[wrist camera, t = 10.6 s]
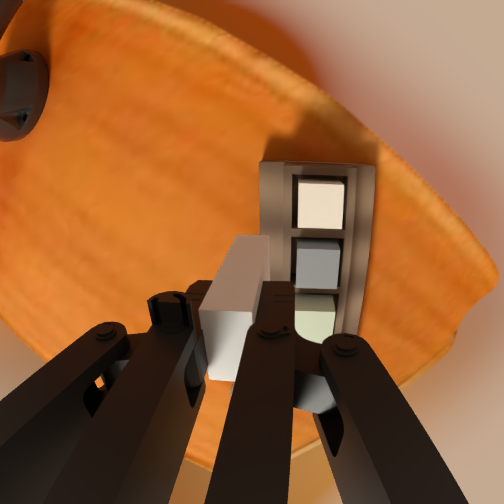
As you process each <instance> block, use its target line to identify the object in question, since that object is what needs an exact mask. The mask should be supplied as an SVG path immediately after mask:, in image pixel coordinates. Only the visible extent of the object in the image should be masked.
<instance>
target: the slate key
mask: <svg viewBox="0 0 504 504" xmlns="http://www.w3.org/2000/svg"><path fill="white" fill-rule="evenodd" d="M339 259H340V248H339V245H338V242H337V239H336V238H309V237H297V265H296V288H316V289H337V281H338V270H339Z"/></svg>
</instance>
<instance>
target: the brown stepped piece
mask: <svg viewBox="0 0 504 504" xmlns="http://www.w3.org/2000/svg"><path fill="white" fill-rule="evenodd" d="M375 171H376V166H373V165H370V164H357V163H340V162H317V161H260V162H259V199H260V235H269V247H270V281H290V282H291V284H292V285H293V286H294V287H295V294H313V295H333V301H334V306H335V320H334V327H333V334H332V335H334V334H337V333H348V334H354V335H357V331H358V325H359V320H360V314H361V308H362V301H363V295H364V288H365V281H366V274H367V266H368V258H369V249H370V240H371V230H372V219H373V206H374V191H375ZM298 179H328V180H340V181H341V182H342V183H343V184H344V200H343V219H342V229H325V228H298ZM297 237H309V238H336V239H337V242H338V245H339V248H340V259H339V270H338V281H337V289H316V288H296V265H297Z"/></svg>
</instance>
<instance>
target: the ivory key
mask: <svg viewBox="0 0 504 504" xmlns="http://www.w3.org/2000/svg"><path fill="white" fill-rule="evenodd" d="M343 200H344V184H343V183H342V182H341V181H340V180H328V179H298V228H325V229H342V219H343Z"/></svg>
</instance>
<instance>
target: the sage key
mask: <svg viewBox="0 0 504 504" xmlns="http://www.w3.org/2000/svg"><path fill="white" fill-rule="evenodd" d="M334 320H335V306H334V301H333V295H313V294H295V329H296V331H297V333H298V334H299V335H300V336H302V337H303V338H305V339H307V340H309V341H312V342H316V343H321V344H322V342H323V340H324V339H326V338H327V337H328V336H331V335H332V334H333V327H334Z"/></svg>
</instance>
